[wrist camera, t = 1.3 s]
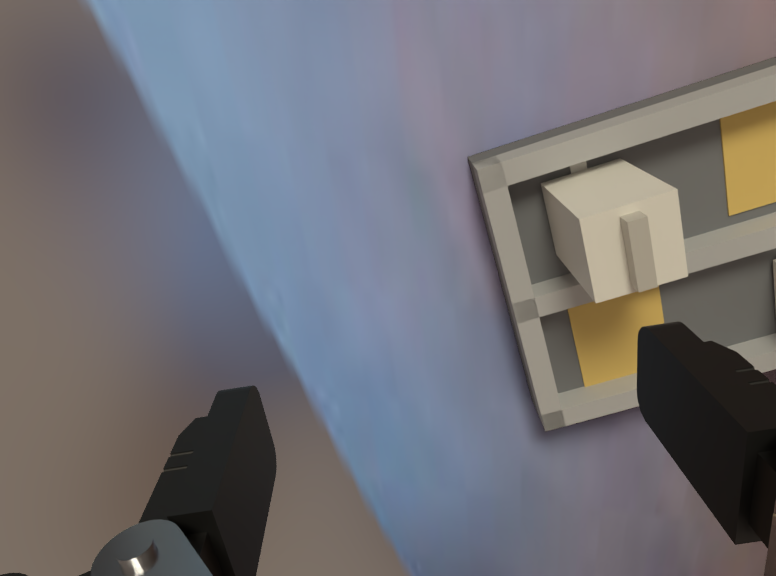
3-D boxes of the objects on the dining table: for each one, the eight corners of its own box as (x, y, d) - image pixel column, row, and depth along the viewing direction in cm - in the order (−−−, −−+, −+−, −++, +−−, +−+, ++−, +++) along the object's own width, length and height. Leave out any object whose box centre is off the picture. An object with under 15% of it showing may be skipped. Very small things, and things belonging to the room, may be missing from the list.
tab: (619, 158, 29) (687, 194, 23) (631, 231, 31) (697, 284, 25) (540, 183, 30) (585, 225, 23) (556, 254, 31) (602, 311, 25)
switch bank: (866, 27, 29) (919, 27, 26) (863, 309, 35) (905, 333, 32) (467, 156, 31) (476, 170, 28) (532, 401, 37) (545, 431, 34)
